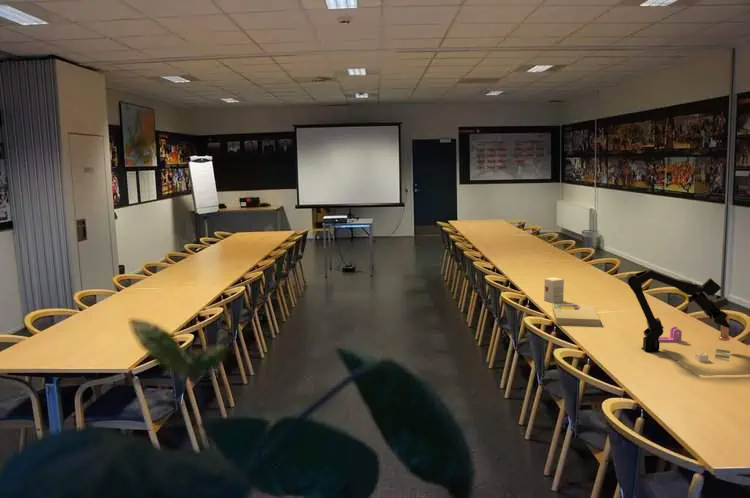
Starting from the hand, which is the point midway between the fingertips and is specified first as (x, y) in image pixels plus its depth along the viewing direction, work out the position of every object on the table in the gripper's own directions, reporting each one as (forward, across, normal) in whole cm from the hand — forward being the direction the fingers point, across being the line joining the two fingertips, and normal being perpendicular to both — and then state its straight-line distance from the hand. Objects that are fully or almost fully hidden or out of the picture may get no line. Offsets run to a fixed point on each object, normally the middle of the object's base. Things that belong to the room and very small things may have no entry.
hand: (728, 326), depth 303 cm
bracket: (-6, +19, +26) cm, 33 cm away
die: (-1, -15, +20) cm, 25 cm away
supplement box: (-43, +102, +63) cm, 127 cm away
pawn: (+4, 0, +6) cm, 7 cm away
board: (+7, -6, +12) cm, 15 cm away
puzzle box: (-35, +60, +56) cm, 90 cm away
